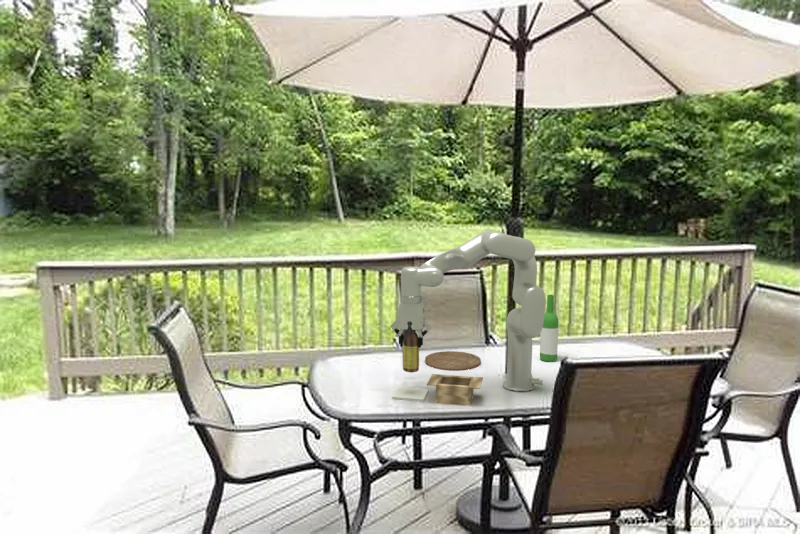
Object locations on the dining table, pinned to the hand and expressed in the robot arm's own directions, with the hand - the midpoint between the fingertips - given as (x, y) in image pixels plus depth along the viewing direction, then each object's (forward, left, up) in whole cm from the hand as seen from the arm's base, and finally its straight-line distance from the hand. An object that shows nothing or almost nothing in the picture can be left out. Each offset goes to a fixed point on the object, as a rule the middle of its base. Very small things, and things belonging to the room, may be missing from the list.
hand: (410, 346), depth 243 cm
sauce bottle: (0, 0, -10) cm, 10 cm away
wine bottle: (-52, -60, -20) cm, 82 cm away
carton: (-17, 0, -19) cm, 26 cm away
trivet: (-10, -47, -20) cm, 52 cm away
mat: (0, 0, -19) cm, 19 cm away
